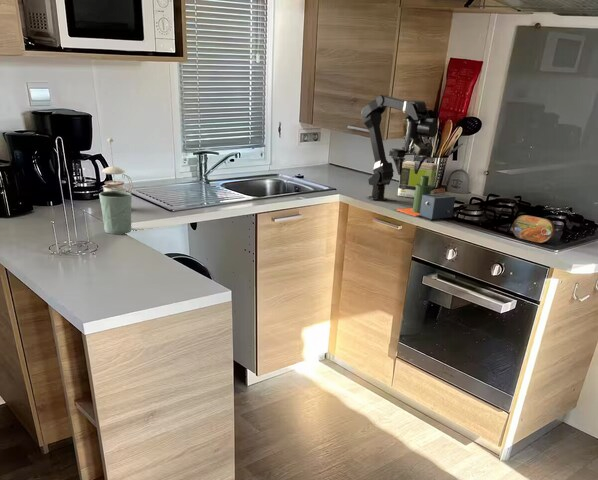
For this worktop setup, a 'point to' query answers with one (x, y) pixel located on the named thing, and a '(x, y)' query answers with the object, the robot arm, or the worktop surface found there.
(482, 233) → the worktop surface
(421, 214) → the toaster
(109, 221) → the green cup
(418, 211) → the bottle
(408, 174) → the tea box
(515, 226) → the tin
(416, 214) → the mat
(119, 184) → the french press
